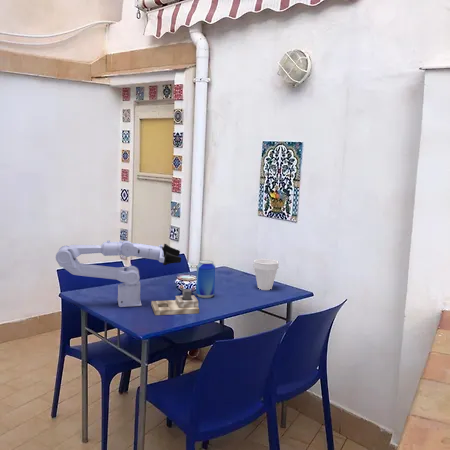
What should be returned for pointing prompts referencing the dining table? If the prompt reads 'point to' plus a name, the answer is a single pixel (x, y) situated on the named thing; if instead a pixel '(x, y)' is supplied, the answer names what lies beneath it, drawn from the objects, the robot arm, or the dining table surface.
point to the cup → (265, 272)
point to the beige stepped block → (176, 306)
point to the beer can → (205, 279)
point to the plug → (186, 294)
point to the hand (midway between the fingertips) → (180, 256)
